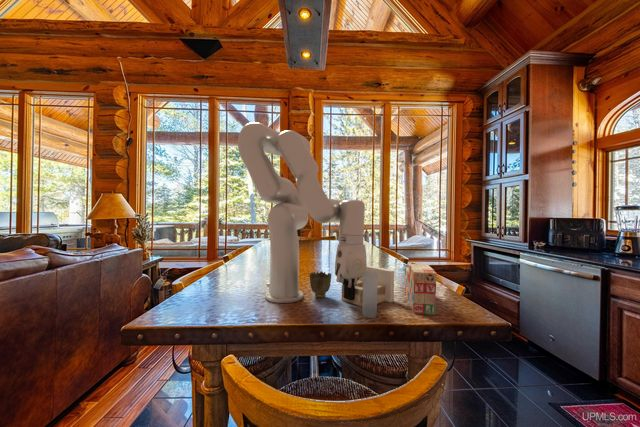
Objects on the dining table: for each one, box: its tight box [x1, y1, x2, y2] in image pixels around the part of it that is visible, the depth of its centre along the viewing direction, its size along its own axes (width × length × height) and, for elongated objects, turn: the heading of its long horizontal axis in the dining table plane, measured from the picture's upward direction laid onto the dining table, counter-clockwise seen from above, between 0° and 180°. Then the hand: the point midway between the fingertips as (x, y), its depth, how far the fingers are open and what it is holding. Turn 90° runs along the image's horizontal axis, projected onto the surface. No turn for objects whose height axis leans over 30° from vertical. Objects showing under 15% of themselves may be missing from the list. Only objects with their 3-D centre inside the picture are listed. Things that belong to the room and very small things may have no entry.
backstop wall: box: [359, 265, 395, 303], centre depth 100 cm, size 20×2×10 cm, turn 44°
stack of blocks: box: [404, 263, 437, 315], centre depth 93 cm, size 21×6×12 cm, turn 170°
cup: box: [308, 270, 332, 299], centre depth 97 cm, size 8×7×8 cm
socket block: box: [341, 280, 386, 307], centre depth 94 cm, size 10×10×5 cm
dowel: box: [361, 271, 378, 319], centre depth 81 cm, size 4×4×12 cm
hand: (349, 298), depth 89 cm, fingers closed
